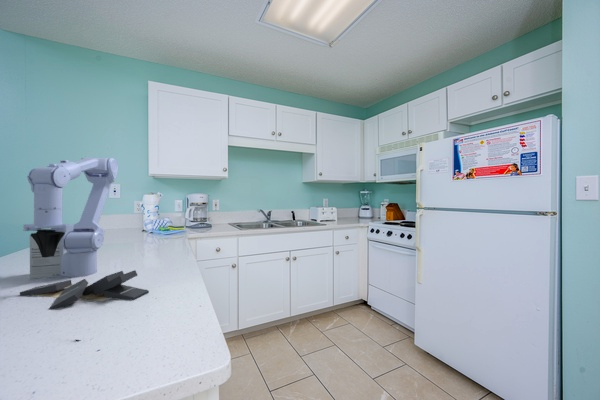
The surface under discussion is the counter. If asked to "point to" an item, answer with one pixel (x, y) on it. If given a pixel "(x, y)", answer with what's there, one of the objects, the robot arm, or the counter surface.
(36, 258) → the supplement box
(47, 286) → the domino
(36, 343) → the counter surface
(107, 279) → the domino
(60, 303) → the domino
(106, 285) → the domino
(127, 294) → the domino
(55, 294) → the board
